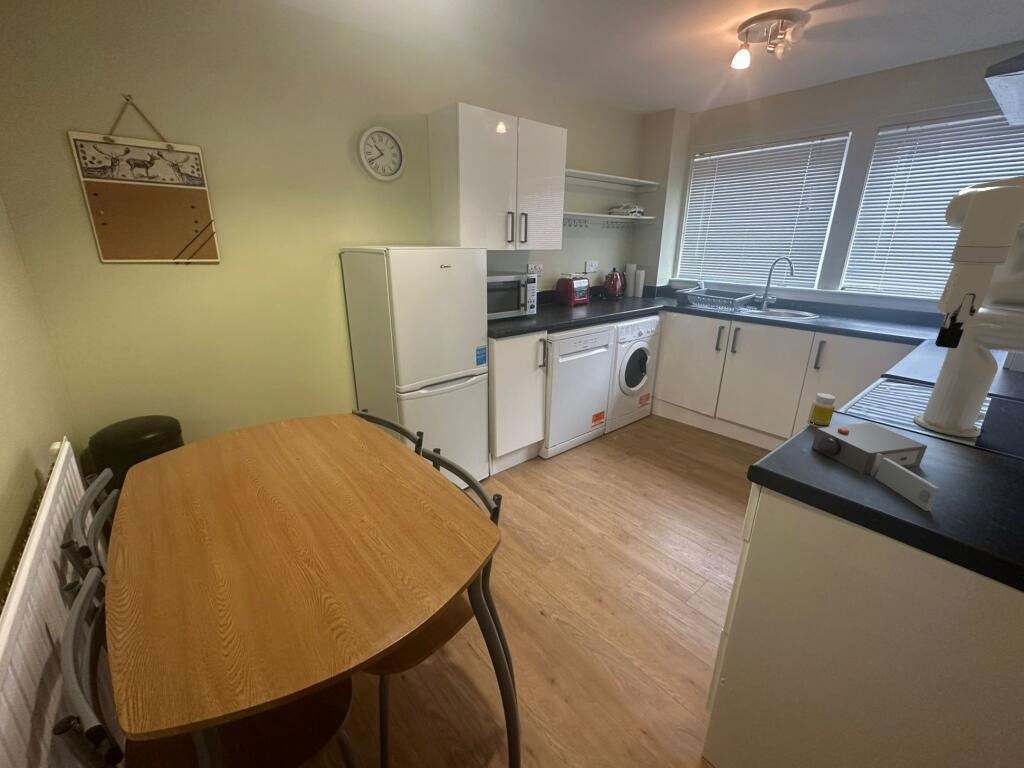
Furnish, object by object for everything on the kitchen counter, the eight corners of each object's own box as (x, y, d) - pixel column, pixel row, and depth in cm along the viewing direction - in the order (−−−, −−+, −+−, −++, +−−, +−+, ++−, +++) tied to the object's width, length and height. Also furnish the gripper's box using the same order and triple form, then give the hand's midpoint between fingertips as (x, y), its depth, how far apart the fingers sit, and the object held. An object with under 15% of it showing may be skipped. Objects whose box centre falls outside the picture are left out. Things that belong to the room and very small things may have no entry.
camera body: (864, 441, 102) (871, 420, 100) (926, 469, 90) (935, 446, 88) (805, 447, 98) (811, 426, 96) (861, 478, 86) (870, 454, 84)
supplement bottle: (832, 429, 108) (841, 399, 105) (812, 428, 109) (820, 398, 106) (823, 422, 112) (831, 393, 109) (803, 420, 113) (811, 391, 110)
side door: (930, 510, 76) (939, 488, 74) (921, 510, 76) (930, 488, 74) (879, 478, 86) (886, 457, 84) (871, 478, 86) (879, 457, 84)
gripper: (945, 253, 89) (917, 336, 95) (958, 258, 78) (925, 352, 84) (997, 254, 84) (964, 341, 91) (1018, 259, 73) (978, 358, 80)
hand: (945, 346), depth 87 cm, fingers closed
